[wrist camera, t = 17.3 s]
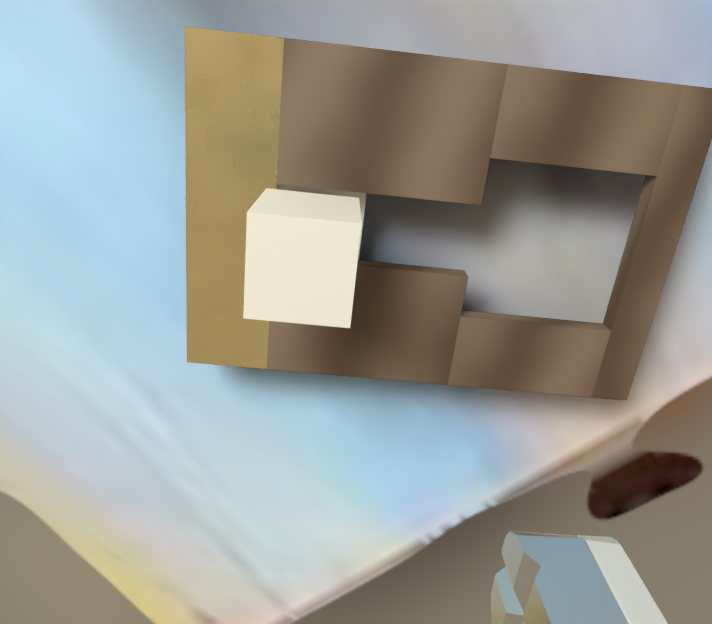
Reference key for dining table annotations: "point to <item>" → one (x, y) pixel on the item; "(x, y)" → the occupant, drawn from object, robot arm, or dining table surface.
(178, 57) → the dining table surface
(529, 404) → the dining table surface
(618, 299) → the keyhole plate
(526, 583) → the robot arm
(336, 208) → the keyed peg
